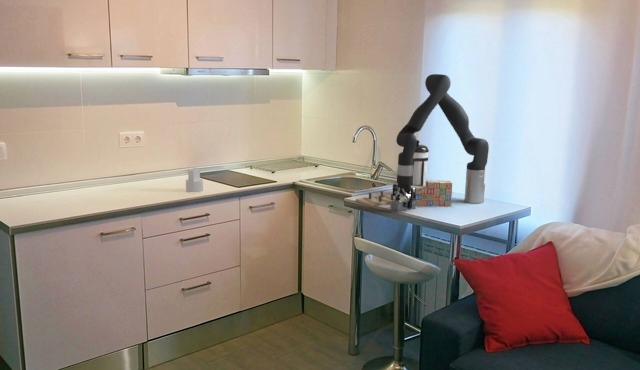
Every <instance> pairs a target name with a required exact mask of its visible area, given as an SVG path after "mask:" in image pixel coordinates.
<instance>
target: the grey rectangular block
mask: <svg viewBox="0 0 640 370" xmlns="http://www.w3.org/2000/svg"><path fill="white" fill-rule="evenodd" d="M407 201H408V200H407V198H403V200H396V201H391V204H390V211H393V212H396V213H399V212H404V211H405V212H406V211H412V210H416V209H417V206H416V200H413V201H412V208H411V209H408V208H407Z"/></svg>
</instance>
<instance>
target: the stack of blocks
mask: <svg viewBox="0 0 640 370" xmlns="http://www.w3.org/2000/svg"><path fill="white" fill-rule="evenodd" d="M411 188H416V207H417V206H418V207H449V208H450V207H451V206H452V194H453V183H452V182H451V181H450V180H441V179H438V180H437V179H436V180H432V179H431V180H429V179H427V180H426V184H425V186H411ZM408 195H409V194H408ZM409 199H410V197H409Z"/></svg>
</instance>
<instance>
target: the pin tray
mask: <svg viewBox="0 0 640 370" xmlns="http://www.w3.org/2000/svg"><path fill="white" fill-rule="evenodd" d="M372 194H373V193H372V192H368V196H367V197H360V198H359V197H358V198H355V202H357V201H358V202H357V203H359V204H364V205H367V206H370V207H379V206H385V205H386V206H387V205H391V201H395V196H393V195H392V193H390V194H384V191H383V190H380V195H374V196H372ZM399 198H400V200H403V199H404V198H401V197H399Z"/></svg>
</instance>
